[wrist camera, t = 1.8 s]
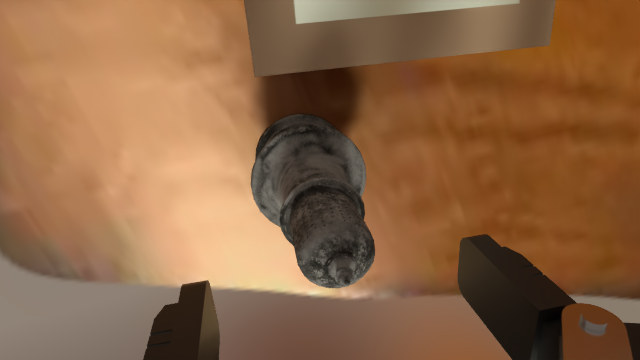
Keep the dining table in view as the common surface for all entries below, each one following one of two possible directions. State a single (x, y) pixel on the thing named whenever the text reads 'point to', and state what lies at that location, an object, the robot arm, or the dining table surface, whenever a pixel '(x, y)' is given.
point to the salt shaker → (315, 197)
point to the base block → (387, 31)
